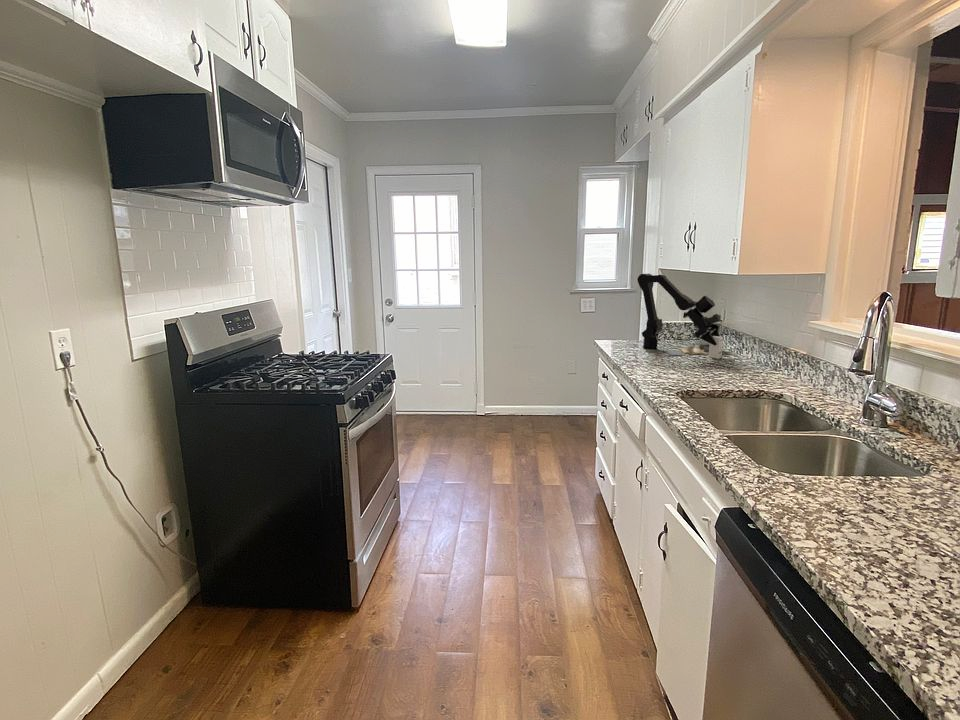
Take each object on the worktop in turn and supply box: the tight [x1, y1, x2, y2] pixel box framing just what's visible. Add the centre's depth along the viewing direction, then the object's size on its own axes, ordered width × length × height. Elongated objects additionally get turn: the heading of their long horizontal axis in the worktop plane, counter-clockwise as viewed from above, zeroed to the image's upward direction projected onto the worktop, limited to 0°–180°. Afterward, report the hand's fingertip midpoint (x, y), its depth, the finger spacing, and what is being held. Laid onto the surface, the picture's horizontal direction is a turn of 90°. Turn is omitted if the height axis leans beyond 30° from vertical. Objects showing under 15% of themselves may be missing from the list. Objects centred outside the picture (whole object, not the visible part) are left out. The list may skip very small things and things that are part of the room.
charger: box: [707, 336, 724, 359], centre depth 253 cm, size 5×4×10 cm
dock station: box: [679, 343, 723, 356], centre depth 266 cm, size 19×13×4 cm
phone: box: [665, 349, 684, 357], centre depth 262 cm, size 6×12×1 cm, turn 168°
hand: (718, 344), depth 252 cm, fingers open, 7 cm apart
